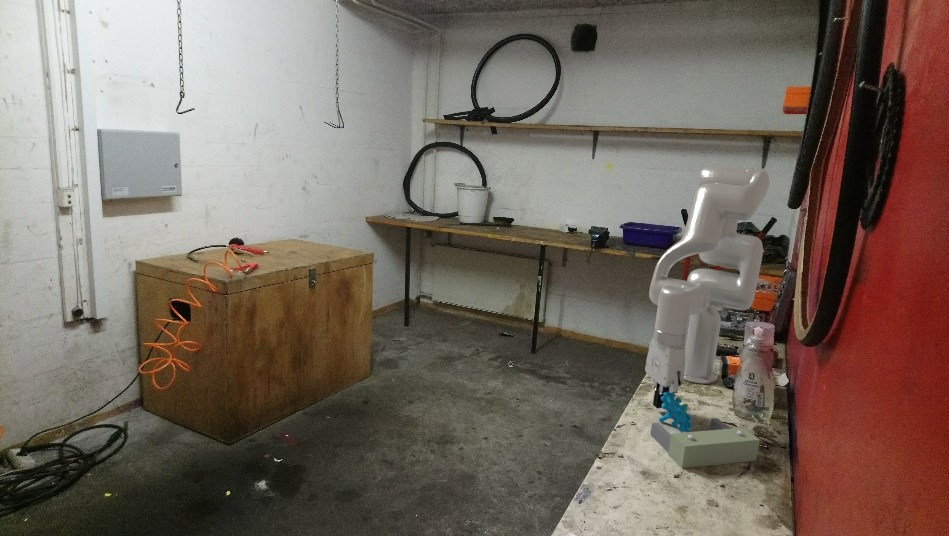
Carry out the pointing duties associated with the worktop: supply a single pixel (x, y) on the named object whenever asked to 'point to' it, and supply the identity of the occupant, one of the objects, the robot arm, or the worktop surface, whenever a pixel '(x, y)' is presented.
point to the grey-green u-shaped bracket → (708, 445)
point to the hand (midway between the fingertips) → (660, 406)
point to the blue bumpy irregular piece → (676, 412)
